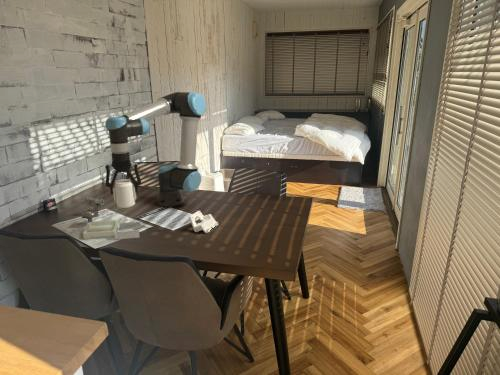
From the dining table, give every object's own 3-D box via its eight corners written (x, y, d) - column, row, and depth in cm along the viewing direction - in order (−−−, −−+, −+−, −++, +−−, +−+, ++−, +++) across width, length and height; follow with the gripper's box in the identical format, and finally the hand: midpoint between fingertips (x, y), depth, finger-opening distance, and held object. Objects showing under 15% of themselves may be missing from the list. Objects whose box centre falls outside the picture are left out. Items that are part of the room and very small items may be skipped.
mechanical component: (103, 217, 184) (101, 200, 181) (86, 216, 186) (84, 198, 183) (107, 215, 187) (105, 198, 184) (90, 214, 189) (87, 197, 186)
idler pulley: (99, 221, 179) (97, 208, 177) (96, 227, 173) (95, 213, 171) (84, 222, 178) (82, 209, 176) (81, 228, 171) (79, 215, 169)
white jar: (125, 209, 157) (122, 184, 154) (113, 206, 161) (110, 182, 158) (138, 204, 164) (136, 180, 160) (127, 201, 168) (124, 177, 164)
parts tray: (118, 225, 176) (118, 219, 175) (115, 236, 163) (114, 230, 162) (89, 227, 172) (89, 222, 172) (83, 239, 160) (83, 233, 159)
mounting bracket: (209, 227, 179) (202, 208, 178) (219, 224, 176) (211, 205, 174) (197, 236, 168) (188, 216, 167) (206, 234, 165) (198, 213, 164)
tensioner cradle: (141, 227, 174) (140, 221, 173) (139, 237, 162) (138, 231, 162) (120, 228, 171) (119, 223, 170) (116, 239, 160) (116, 233, 159)
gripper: (144, 149, 161) (148, 195, 168) (96, 151, 156) (102, 198, 163) (144, 152, 154) (148, 200, 161) (93, 154, 149) (100, 204, 156)
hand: (125, 199), depth 162 cm, fingers closed on white jar, 8 cm apart
